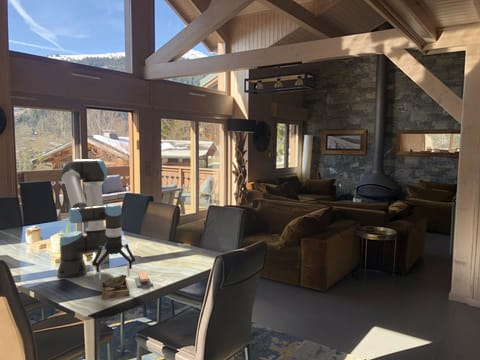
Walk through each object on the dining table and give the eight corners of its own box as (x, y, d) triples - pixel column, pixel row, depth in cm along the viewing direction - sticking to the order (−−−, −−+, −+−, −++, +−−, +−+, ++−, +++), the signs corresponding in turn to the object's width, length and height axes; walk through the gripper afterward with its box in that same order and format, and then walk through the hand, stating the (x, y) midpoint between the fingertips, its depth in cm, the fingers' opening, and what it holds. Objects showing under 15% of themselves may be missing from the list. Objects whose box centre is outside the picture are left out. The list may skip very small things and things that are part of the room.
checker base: (137, 287, 194) (137, 282, 194) (134, 279, 205) (134, 274, 205) (153, 285, 197) (152, 280, 197) (149, 278, 208) (149, 273, 208)
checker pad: (140, 281, 195) (140, 279, 195) (138, 274, 205) (138, 272, 205) (149, 280, 197) (149, 278, 196) (146, 273, 207) (146, 271, 207)
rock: (125, 275, 198) (127, 273, 190) (126, 287, 197) (129, 285, 188) (102, 278, 193) (104, 277, 185) (103, 290, 192) (105, 289, 183)
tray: (102, 299, 180) (102, 293, 179) (101, 287, 194) (101, 282, 194) (129, 295, 184) (129, 290, 184) (126, 284, 199) (126, 279, 198)
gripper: (86, 239, 178) (87, 282, 181) (140, 235, 187) (140, 276, 190) (86, 235, 185) (87, 276, 188) (138, 231, 194) (139, 271, 197)
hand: (114, 276), depth 189 cm, fingers open, 13 cm apart
